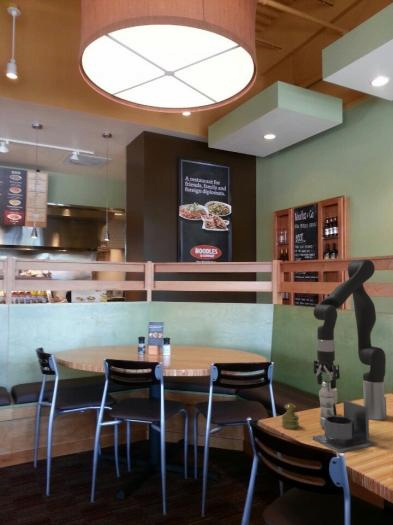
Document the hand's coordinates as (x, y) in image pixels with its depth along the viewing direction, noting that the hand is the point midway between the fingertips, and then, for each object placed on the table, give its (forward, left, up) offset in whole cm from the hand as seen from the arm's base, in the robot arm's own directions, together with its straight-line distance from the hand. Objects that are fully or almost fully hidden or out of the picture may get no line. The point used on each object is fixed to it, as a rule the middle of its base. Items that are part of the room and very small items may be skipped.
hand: (326, 386), depth 184 cm
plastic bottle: (0, 0, -18) cm, 18 cm away
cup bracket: (+6, +16, -18) cm, 25 cm away
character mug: (-12, -12, -18) cm, 25 cm away
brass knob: (+14, -8, -18) cm, 24 cm away
